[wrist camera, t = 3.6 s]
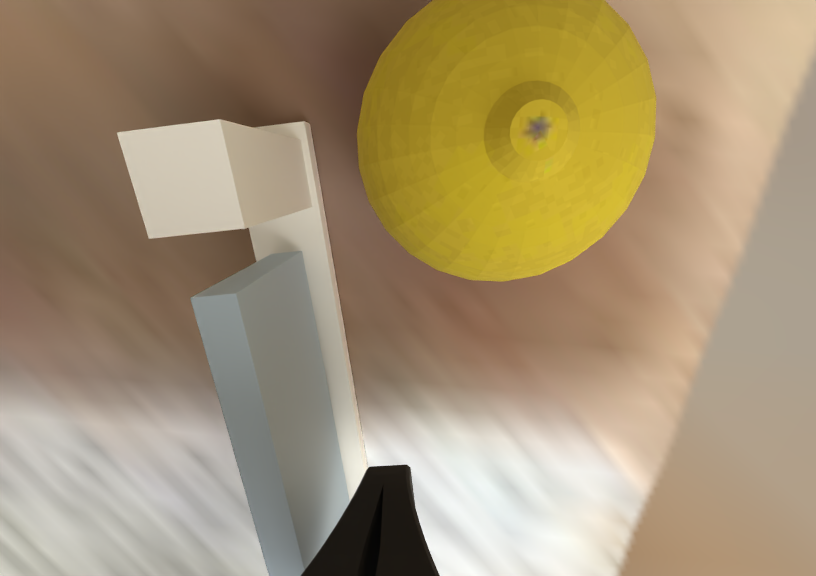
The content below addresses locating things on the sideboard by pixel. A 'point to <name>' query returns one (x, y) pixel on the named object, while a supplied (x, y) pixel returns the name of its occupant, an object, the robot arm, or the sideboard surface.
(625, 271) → the sideboard surface
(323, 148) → the sideboard surface
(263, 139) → the white bracket
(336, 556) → the robot arm
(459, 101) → the lemon
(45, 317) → the sideboard surface
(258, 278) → the door
